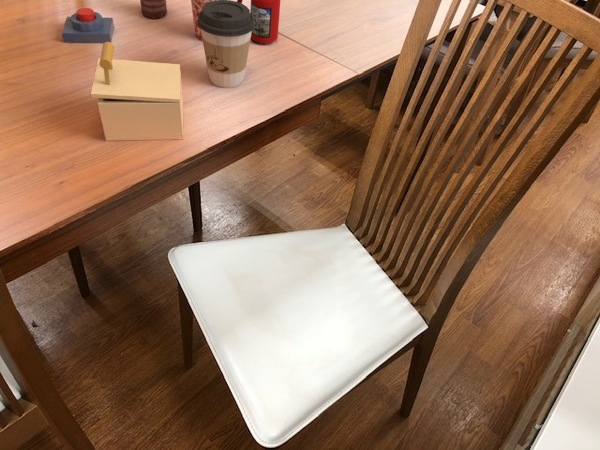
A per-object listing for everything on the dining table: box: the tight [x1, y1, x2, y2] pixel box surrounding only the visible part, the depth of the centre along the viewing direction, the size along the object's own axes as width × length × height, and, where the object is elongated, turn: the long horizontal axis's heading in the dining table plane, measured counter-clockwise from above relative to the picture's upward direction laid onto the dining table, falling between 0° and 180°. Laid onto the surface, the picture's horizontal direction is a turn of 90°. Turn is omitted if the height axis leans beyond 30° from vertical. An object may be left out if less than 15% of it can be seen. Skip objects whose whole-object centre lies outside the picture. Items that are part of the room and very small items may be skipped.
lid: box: [90, 41, 181, 103], centre depth 88 cm, size 14×12×6 cm
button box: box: [61, 11, 115, 44], centre depth 115 cm, size 10×8×4 cm
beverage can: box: [250, 0, 281, 45], centre depth 118 cm, size 7×7×12 cm
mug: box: [190, 0, 244, 42], centre depth 117 cm, size 13×9×14 cm
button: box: [75, 7, 95, 22], centre depth 113 cm, size 4×4×2 cm
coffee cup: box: [197, 0, 255, 89], centre depth 103 cm, size 11×11×15 cm
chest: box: [97, 72, 184, 142], centre depth 93 cm, size 14×12×8 cm
